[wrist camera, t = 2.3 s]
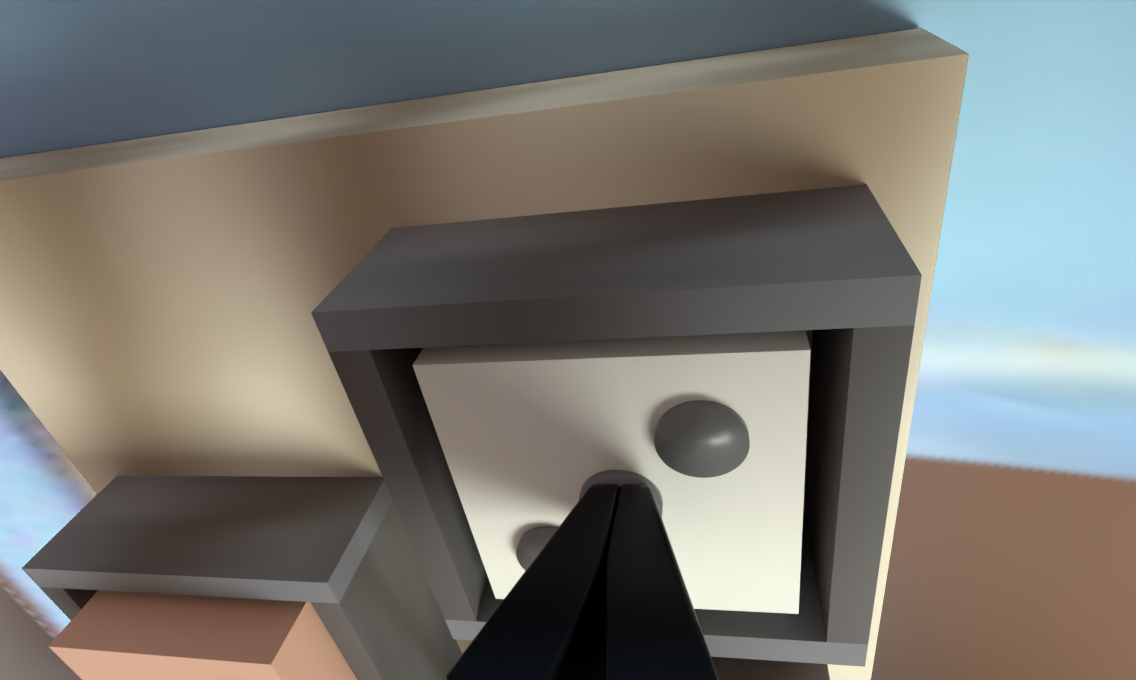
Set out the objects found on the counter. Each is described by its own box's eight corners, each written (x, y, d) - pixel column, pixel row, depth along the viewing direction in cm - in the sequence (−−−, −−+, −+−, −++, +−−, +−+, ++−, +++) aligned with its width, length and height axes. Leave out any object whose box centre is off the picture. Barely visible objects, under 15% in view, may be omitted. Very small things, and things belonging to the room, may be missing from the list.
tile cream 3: (789, 269, 9) (812, 357, 7) (784, 515, 12) (799, 622, 10) (458, 291, 10) (408, 372, 8) (521, 510, 13) (493, 606, 11)
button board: (920, 27, 9) (1073, 110, 5) (835, 751, 20) (866, 943, 17) (-32, 162, 13) (-319, 262, 10) (330, 703, 24) (263, 848, 21)
